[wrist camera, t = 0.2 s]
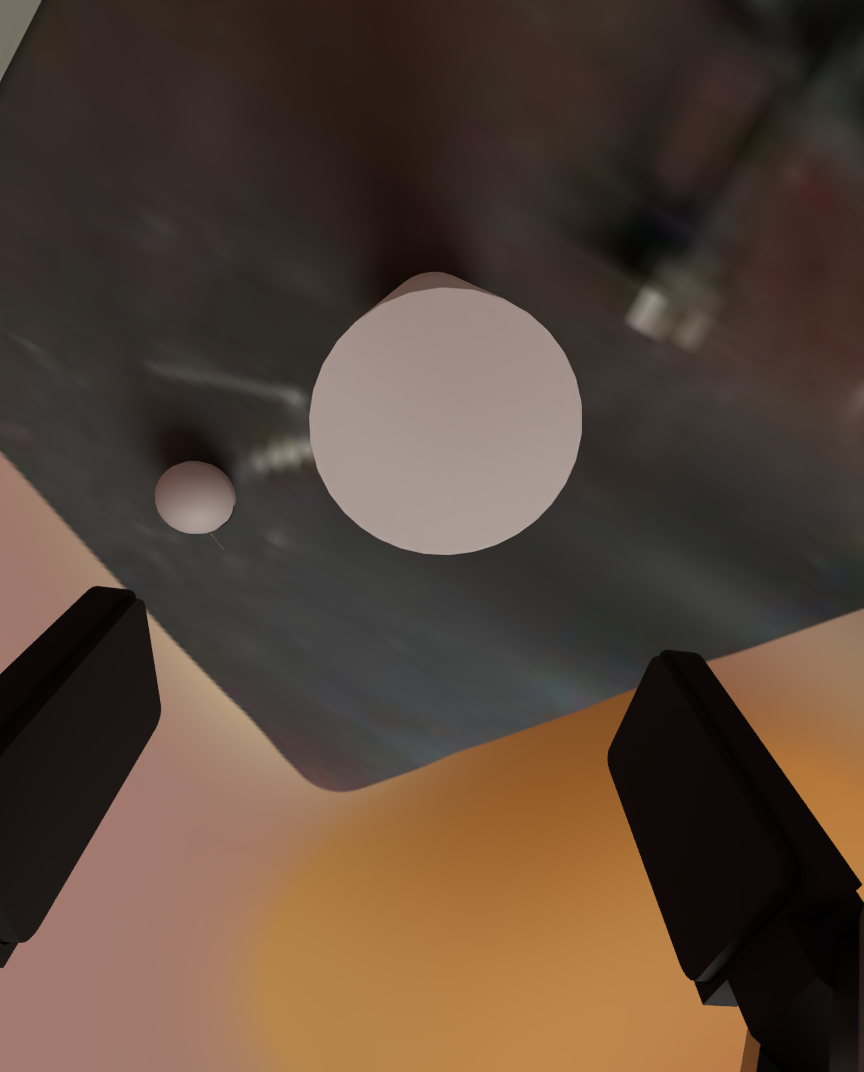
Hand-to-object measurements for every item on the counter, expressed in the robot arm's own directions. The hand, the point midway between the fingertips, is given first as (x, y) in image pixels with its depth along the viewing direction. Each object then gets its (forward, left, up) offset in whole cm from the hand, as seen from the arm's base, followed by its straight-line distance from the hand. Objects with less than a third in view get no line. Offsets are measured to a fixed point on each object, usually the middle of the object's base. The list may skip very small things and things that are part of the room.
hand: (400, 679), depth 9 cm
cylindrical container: (-3, -1, -31) cm, 31 cm away
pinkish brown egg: (+19, -4, -31) cm, 37 cm away
